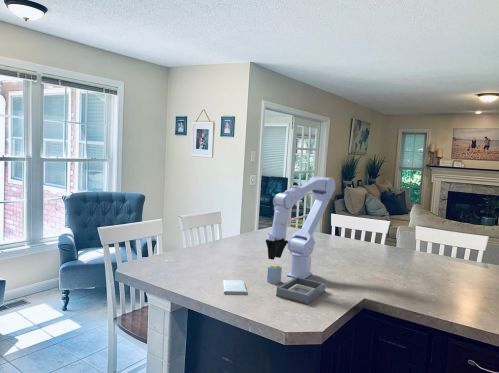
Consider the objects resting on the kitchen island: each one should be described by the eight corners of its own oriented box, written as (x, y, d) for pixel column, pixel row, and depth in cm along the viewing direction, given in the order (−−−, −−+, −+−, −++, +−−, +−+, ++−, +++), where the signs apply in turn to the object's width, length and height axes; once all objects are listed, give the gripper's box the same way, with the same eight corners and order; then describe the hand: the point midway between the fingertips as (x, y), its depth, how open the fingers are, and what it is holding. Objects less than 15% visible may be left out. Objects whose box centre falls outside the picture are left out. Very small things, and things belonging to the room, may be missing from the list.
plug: (272, 279, 155) (272, 263, 154) (280, 281, 152) (281, 265, 152) (267, 282, 151) (268, 265, 151) (276, 284, 149) (277, 267, 148)
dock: (295, 284, 150) (296, 276, 150) (325, 291, 144) (325, 283, 143) (276, 296, 137) (276, 287, 136) (307, 304, 130) (308, 295, 130)
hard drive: (246, 291, 137) (243, 279, 149) (223, 291, 136) (222, 279, 148) (246, 296, 137) (243, 284, 149) (223, 295, 136) (222, 283, 148)
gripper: (276, 221, 159) (271, 254, 158) (263, 221, 145) (258, 257, 145) (292, 225, 156) (287, 258, 155) (281, 225, 142) (275, 261, 142)
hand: (274, 258), depth 150 cm, fingers open, 7 cm apart
